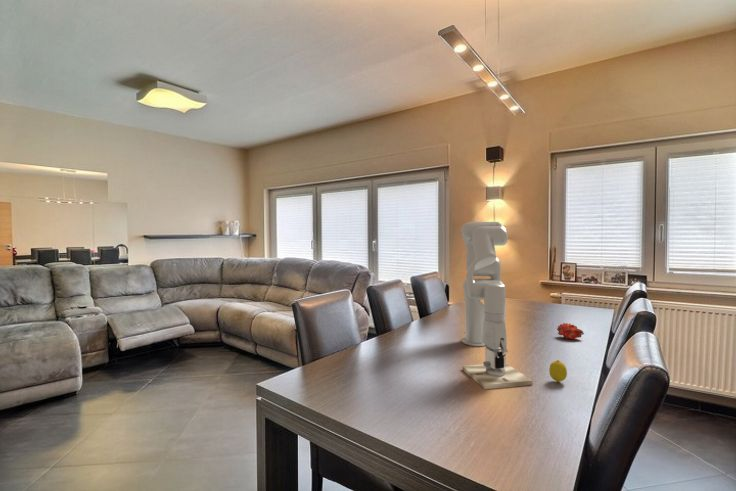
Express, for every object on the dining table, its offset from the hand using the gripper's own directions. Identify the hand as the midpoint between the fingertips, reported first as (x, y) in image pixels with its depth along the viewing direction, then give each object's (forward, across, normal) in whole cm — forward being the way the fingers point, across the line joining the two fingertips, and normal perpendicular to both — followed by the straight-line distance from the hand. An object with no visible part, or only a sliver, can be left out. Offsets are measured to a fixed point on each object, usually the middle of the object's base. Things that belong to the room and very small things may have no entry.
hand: (495, 364), depth 130 cm
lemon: (+5, +9, +19) cm, 22 cm away
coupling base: (+5, 0, 0) cm, 5 cm away
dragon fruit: (+5, -36, +61) cm, 71 cm away
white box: (0, 0, -1) cm, 1 cm away
